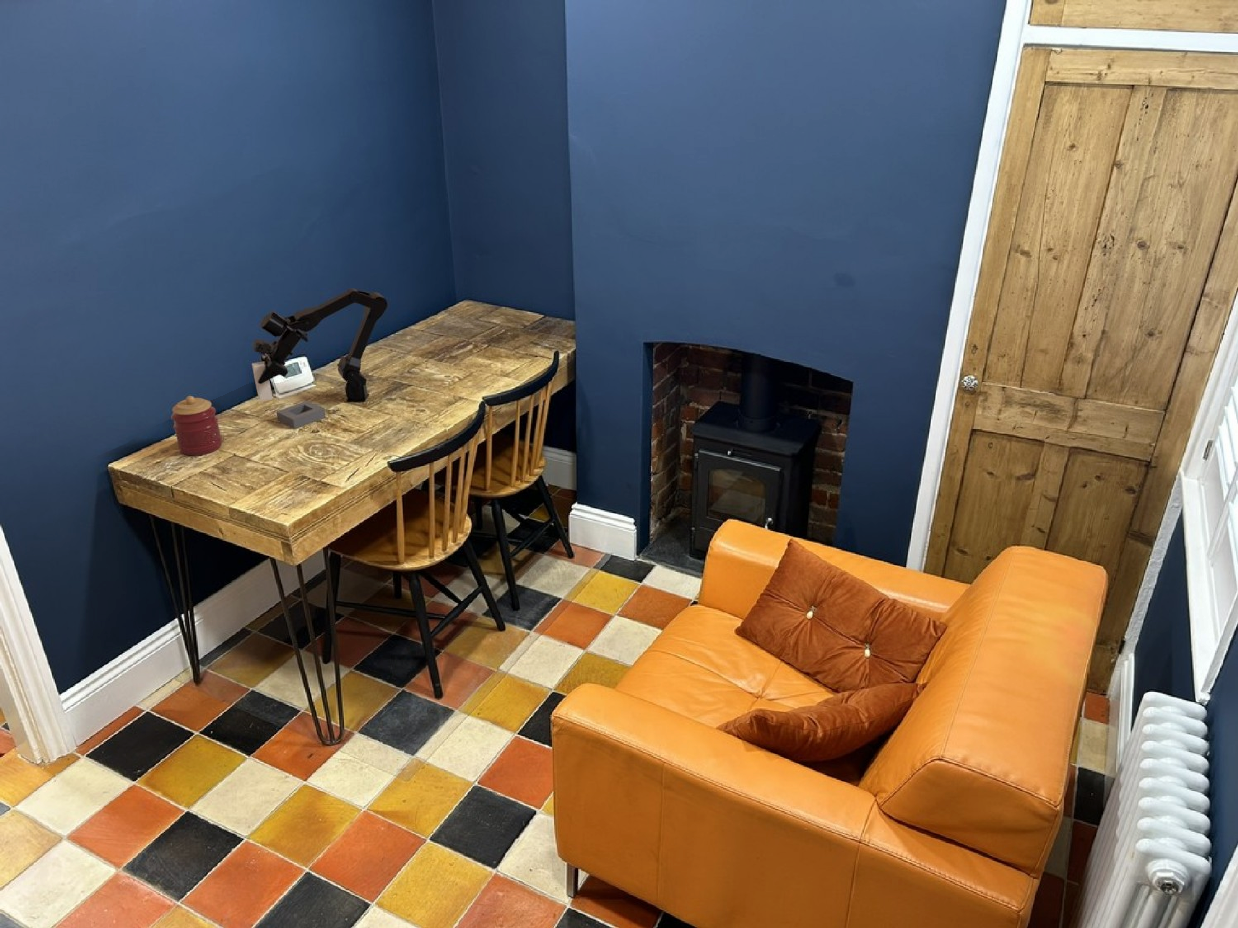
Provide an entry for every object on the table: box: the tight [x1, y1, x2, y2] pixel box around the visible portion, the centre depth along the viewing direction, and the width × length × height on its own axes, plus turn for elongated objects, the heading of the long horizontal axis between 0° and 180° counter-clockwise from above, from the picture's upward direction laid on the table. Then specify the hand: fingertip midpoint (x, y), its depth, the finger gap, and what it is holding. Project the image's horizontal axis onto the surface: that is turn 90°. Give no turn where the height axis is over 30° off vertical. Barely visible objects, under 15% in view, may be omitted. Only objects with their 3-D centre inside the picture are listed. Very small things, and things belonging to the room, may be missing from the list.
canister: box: [170, 395, 223, 456], centre depth 296 cm, size 13×13×18 cm
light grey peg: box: [251, 361, 274, 402], centre depth 314 cm, size 4×4×12 cm
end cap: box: [276, 400, 327, 430], centre depth 317 cm, size 12×10×4 cm
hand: (257, 381), depth 314 cm, fingers closed on light grey peg, 3 cm apart
